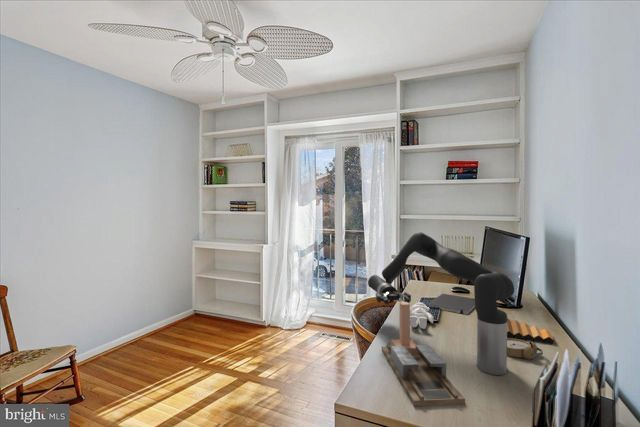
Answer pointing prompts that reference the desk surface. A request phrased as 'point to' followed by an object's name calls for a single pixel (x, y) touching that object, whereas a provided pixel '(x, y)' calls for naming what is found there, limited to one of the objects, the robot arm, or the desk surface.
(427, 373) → the track board
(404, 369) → the tunnel
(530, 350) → the alarm clock
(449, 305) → the notebook
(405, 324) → the pink post on block
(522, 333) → the orange corrugated panel
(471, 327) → the desk surface
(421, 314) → the figure
